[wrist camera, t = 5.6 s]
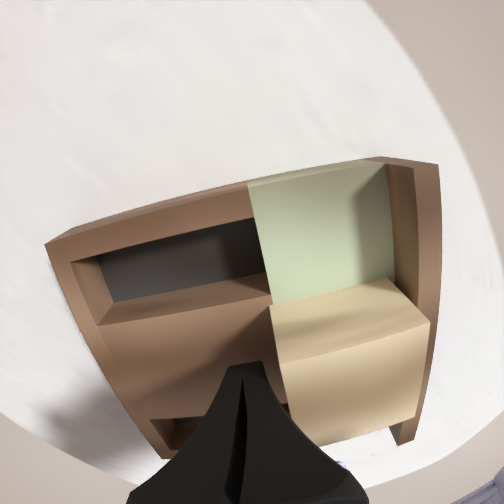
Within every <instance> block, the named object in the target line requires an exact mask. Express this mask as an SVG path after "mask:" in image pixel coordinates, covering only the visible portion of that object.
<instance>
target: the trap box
mask: <svg viewBox="0 0 504 504" xmlns="http://www.w3.org/2000/svg"><path fill="white" fill-rule="evenodd" d="M44 245H45V248H46V250H47V253H48V256H49V259H50V261H51V264H52V267H53V269H54V272H55V274H56V277H57V280H58V282H59V284H60V287H61V289H62V292H63V294H64V296H65V299H66V301H67V303H68V305H69V308H70V310H71V312H72V314H73V316H74V318H75V320H76V323H77V325H78V327H79V329H80V331H81V333H82V335H83V337H84V339H85V341H86V343H87V344H88V346H89V348H90V350H91V352H92V354H93V356H94V358H95V359H96V361H97V363H98V365H99V367H100V368H101V370H102V372H103V373H104V375H105V377H106V379H107V380H108V382H109V384H110V385H111V387H112V389H113V390H114V392H115V393H116V395H117V397H118V398H119V400H120V401H121V403H122V404H123V406H124V407H125V409H126V410H127V412H128V413H129V415H130V416H131V418H132V419H133V421H134V422H135V424H136V425H137V427H138V428H139V429H140V431H141V432H142V434H143V435H144V436H145V438H146V439H147V440H148V442H149V443H150V444H151V446H152V447H153V448H154V450H155V451H156V452H157V453H158V455H159V456H160V457H161V459H172V458H173V457H174V456H175V455H176V453H177V452H178V451H179V450H180V449H181V448H182V447H183V445H184V444H185V443H186V442H187V441H188V439H189V438H190V437H191V435H192V434H193V433H194V431H195V430H196V428H197V427H198V425H199V424H200V422H201V421H202V419H203V417H204V415H205V414H206V412H207V410H208V409H209V407H210V405H211V403H212V401H213V399H214V397H215V395H216V393H217V391H218V389H219V387H220V385H221V382H222V380H223V377H224V375H225V372H226V370H227V368H228V367H229V366H232V365H238V364H244V363H249V362H255V361H261V362H263V365H264V368H265V372H266V376H267V379H268V382H269V384H270V386H271V388H272V390H273V391H274V393H275V395H276V397H277V399H278V400H279V402H280V403H281V405H282V406H283V408H284V409H285V411H286V412H287V413H288V415H289V416H290V417H291V414H290V409H289V405H288V400H287V396H286V391H285V387H284V383H283V378H282V374H281V369H280V365H279V359H278V353H277V348H276V342H275V336H274V331H273V325H272V319H271V314H270V308H269V305H274V304H278V303H283V302H288V301H292V300H297V299H301V298H305V297H310V296H314V295H318V294H322V293H327V292H331V291H335V290H339V289H343V288H347V287H351V286H355V285H359V284H363V283H367V282H371V281H374V280H378V279H382V278H386V277H387V278H388V279H389V280H390V281H391V282H392V283H393V284H394V285H395V286H396V287H397V288H398V289H399V290H400V291H401V292H402V293H403V294H404V295H405V296H406V297H407V298H408V299H409V300H410V301H411V302H412V303H413V304H414V305H415V306H416V307H417V308H418V309H419V310H420V312H421V313H422V314H423V315H424V316H425V317H426V318H427V319H428V320H429V321H430V331H429V339H428V347H427V354H426V361H425V367H424V373H423V379H422V384H421V390H420V395H419V400H418V404H417V409H416V413H415V417H413V418H410V419H408V420H405V421H402V422H400V423H397V424H394V425H392V426H389V428H390V431H391V433H392V435H393V437H394V439H395V442H396V444H397V446H399V445H402V444H404V443H407V442H410V441H412V440H414V437H415V434H416V430H417V427H418V423H419V419H420V415H421V411H422V407H423V403H424V399H425V394H426V390H427V385H428V380H429V375H430V370H431V364H432V358H433V352H434V345H435V338H436V331H437V322H438V313H439V302H440V289H441V271H442V210H441V192H440V179H439V168H438V164H432V163H426V162H419V161H412V160H405V159H397V158H389V157H381V156H380V157H373V158H366V159H360V160H353V161H347V162H341V163H335V164H329V165H323V166H318V167H312V168H307V169H301V170H296V171H291V172H286V173H281V174H276V175H271V176H266V177H261V178H256V179H252V180H247V181H243V182H238V183H234V184H229V185H225V186H221V187H216V188H212V189H208V190H204V191H200V192H196V193H192V194H188V195H184V196H180V197H176V198H172V199H169V200H165V201H161V202H158V203H154V204H150V205H147V206H143V207H140V208H136V209H133V210H129V211H126V212H122V213H119V214H116V215H112V216H109V217H106V218H102V219H99V220H96V221H93V222H90V223H87V224H83V225H80V226H77V227H74V228H72V229H70V230H68V231H66V232H65V233H63V234H61V235H59V236H58V237H56V238H54V239H53V240H51V241H49V242H48V243H46V244H44ZM291 419H292V418H291Z"/></svg>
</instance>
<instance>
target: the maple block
mask: <svg viewBox="0 0 504 504" xmlns="http://www.w3.org/2000/svg"><path fill="white" fill-rule="evenodd" d="M269 308H270V314H271V319H272V325H273V331H274V336H275V342H276V348H277V353H278V359H279V365H280V369H281V374H282V378H283V383H284V387H285V391H286V396H287V400H288V405H289V409H290V414H291V418H292V420H293V421H294V422H295V424H296V425H297V426H298V427H299V428H300V429H301V430H302V432H303V433H304V434H305V435H306V436H307V437H308V438H309V439H310V440H311V441H312V442H313V443H314V444H315V445H317V446H318V447H320V446H324V445H328V444H332V443H336V442H340V441H344V440H347V439H351V438H354V437H358V436H361V435H364V434H368V433H371V432H374V431H377V430H380V429H383V428H386V427H389V426H392V425H394V424H397V423H400V422H402V421H405V420H408V419H410V418H413V417H415V413H416V409H417V404H418V400H419V395H420V390H421V384H422V379H423V373H424V367H425V361H426V354H427V347H428V339H429V331H430V321H429V320H428V319H427V318H426V317H425V316H424V315H423V314H422V313H421V312H420V310H419V309H418V308H417V307H416V306H415V305H414V304H413V303H412V302H411V301H410V300H409V299H408V298H407V297H406V296H405V295H404V294H403V293H402V292H401V291H400V290H399V289H398V288H397V287H396V286H395V285H394V284H393V283H392V282H391V281H390V280H389V279H388V278H387V277H386V278H382V279H378V280H374V281H371V282H367V283H363V284H359V285H355V286H351V287H347V288H343V289H339V290H335V291H331V292H327V293H322V294H318V295H314V296H310V297H305V298H301V299H297V300H292V301H288V302H283V303H278V304H274V305H269Z"/></svg>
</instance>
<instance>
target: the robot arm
mask: <svg viewBox="0 0 504 504" xmlns="http://www.w3.org/2000/svg"><path fill="white" fill-rule="evenodd" d="M126 504H369V499H368V497H367V494H366V493H365V491H364V489H363V488H362V486H361V485H360V484H359V482H358V481H357V480H356V479H355V477H354V476H353V475H352V474H351V472H350V471H348V470H347V469H346V466H345V463H344V462H339V463H337V462H336V461H334V460H333V459H332V458H330V457H329V456H328V455H327V454H325V453H324V452H323V451H322V450H321V449H320V448H319V447H318V446H317V445H315V444H314V443H313V442H312V441H311V440H310V439H309V438H308V437H307V436H306V435H305V434H304V433H303V432H302V430H301V429H300V428H299V427H298V426H297V425H296V424H295V422H294V421H293V420H292V419H291V417H290V416H289V415H288V413H287V412H286V411H285V409H284V408H283V406H282V405H281V403H280V402H279V400H278V399H277V397H276V395H275V393H274V391H273V390H272V388H271V386H270V384H269V382H268V379H267V376H266V372H265V368H264V365H263V362H261V361H255V362H249V363H244V364H238V365H232V366H229V367H228V368H227V370H226V372H225V375H224V377H223V380H222V382H221V385H220V387H219V389H218V391H217V393H216V395H215V397H214V399H213V401H212V403H211V405H210V407H209V409H208V410H207V412H206V414H205V415H204V417H203V419H202V421H201V422H200V424H199V425H198V427H197V428H196V430H195V431H194V433H193V434H192V435H191V437H190V438H189V439H188V441H187V442H186V443H185V444H184V445H183V447H182V448H181V449H180V450H179V451H178V452H177V453H176V455H175V456H174V457H173V458H172V459H171V460H170V461H169V462H168V463H167V464H166V465H164V466H163V467H162V468H161V469H160V470H159V471H158V472H157V473H156V474H155V475H153V476H152V477H151V478H150V479H148V480H147V481H146V482H144V483H143V484H141V485H140V486H139V487H137V488H136V489H134V490H133V491H131V492H130V494H129V497H128V500H127V502H126ZM451 504H504V467H503V468H502V469H501V470H500V471H499V472H498V473H497V474H496V475H495V477H494V479H493V480H491V481H489V482H488V483H486V484H485V485H483V486H481V487H480V488H478V489H476V490H475V491H473V492H471V493H470V494H468V495H466V496H464V497H463V498H461V499H459V500H457V501H455V502H453V503H451Z"/></svg>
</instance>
